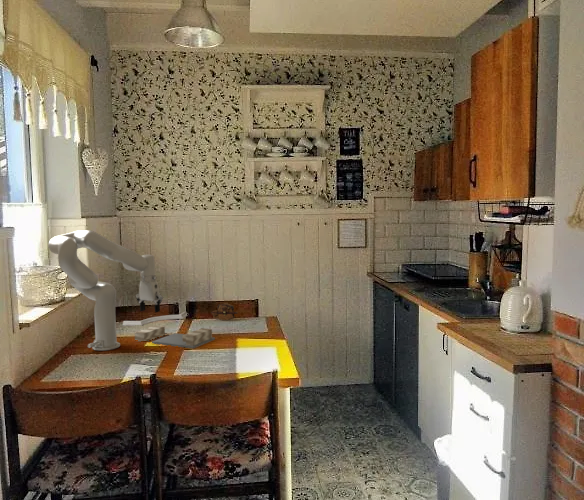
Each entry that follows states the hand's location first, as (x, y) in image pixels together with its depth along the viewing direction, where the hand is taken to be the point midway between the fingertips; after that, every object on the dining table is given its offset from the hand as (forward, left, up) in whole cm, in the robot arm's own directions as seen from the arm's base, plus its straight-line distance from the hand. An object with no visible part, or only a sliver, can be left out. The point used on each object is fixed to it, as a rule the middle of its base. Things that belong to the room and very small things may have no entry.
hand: (150, 311), depth 258 cm
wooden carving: (+48, -14, -14) cm, 52 cm away
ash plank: (-1, 0, -14) cm, 14 cm away
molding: (+35, +26, -15) cm, 45 cm away
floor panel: (-1, -21, -14) cm, 25 cm away
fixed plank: (-1, -30, -14) cm, 33 cm away
